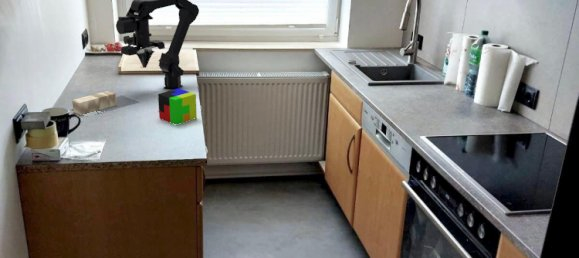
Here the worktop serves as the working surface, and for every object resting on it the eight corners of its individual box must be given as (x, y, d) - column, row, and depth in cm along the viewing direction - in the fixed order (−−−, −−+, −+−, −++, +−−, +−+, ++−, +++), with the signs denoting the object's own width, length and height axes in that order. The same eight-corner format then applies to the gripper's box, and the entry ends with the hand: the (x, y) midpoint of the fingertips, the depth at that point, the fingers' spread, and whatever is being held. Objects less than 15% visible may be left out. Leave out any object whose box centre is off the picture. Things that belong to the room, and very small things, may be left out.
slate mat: (121, 96, 227) (121, 95, 227) (139, 103, 220) (139, 101, 220) (70, 110, 209) (70, 109, 209) (88, 118, 202) (87, 117, 202)
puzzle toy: (179, 112, 212) (178, 88, 208) (196, 118, 206) (195, 94, 203) (159, 118, 205) (157, 94, 201) (176, 125, 199) (175, 100, 195)
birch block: (108, 90, 216) (72, 100, 205) (115, 93, 214) (79, 103, 202) (109, 102, 218) (73, 112, 206) (116, 105, 215) (81, 115, 204)
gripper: (147, 25, 232) (150, 60, 238) (111, 31, 218) (114, 68, 224) (164, 28, 226) (166, 64, 232) (128, 35, 212) (131, 73, 218)
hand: (144, 67), depth 226 cm, fingers closed
